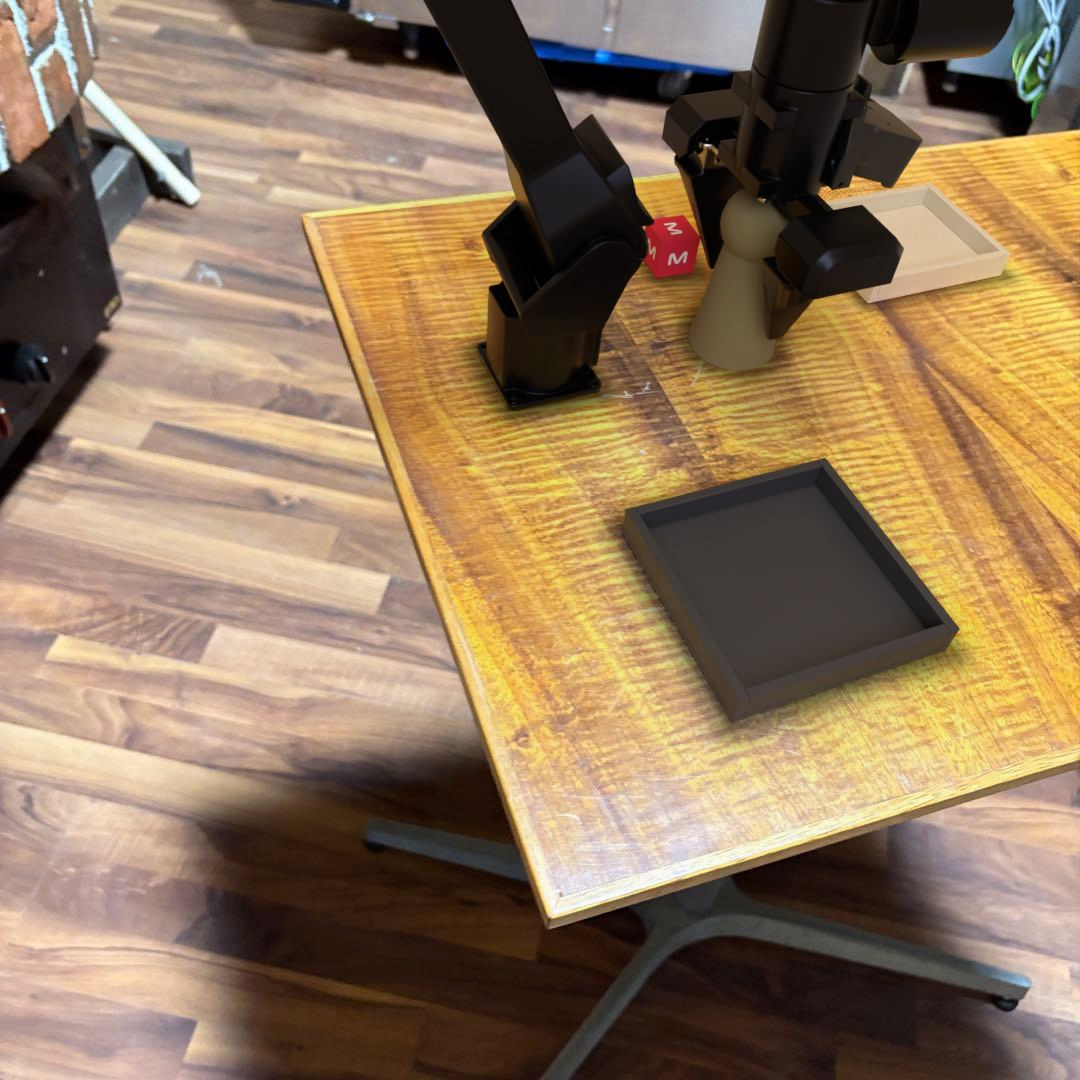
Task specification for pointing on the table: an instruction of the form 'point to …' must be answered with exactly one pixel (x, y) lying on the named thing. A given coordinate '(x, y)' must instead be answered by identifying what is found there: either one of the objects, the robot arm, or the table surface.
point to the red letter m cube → (671, 246)
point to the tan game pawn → (738, 288)
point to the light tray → (929, 241)
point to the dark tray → (784, 586)
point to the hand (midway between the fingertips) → (744, 301)
